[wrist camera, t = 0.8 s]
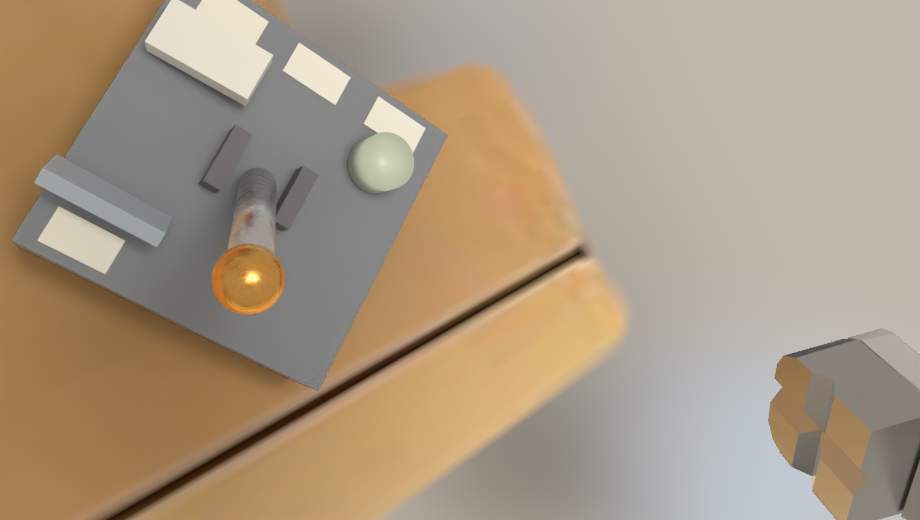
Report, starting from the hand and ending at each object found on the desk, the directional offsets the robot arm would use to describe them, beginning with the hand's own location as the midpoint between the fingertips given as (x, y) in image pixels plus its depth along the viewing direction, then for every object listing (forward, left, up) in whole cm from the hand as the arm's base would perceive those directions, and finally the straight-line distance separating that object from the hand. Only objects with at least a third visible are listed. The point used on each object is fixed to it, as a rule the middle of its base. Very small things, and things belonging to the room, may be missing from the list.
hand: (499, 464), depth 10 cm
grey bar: (-7, -2, -31) cm, 32 cm away
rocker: (-13, +3, -30) cm, 33 cm away
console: (-7, +5, -38) cm, 38 cm away
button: (-8, +11, -31) cm, 34 cm away
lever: (-7, +5, -31) cm, 32 cm away
